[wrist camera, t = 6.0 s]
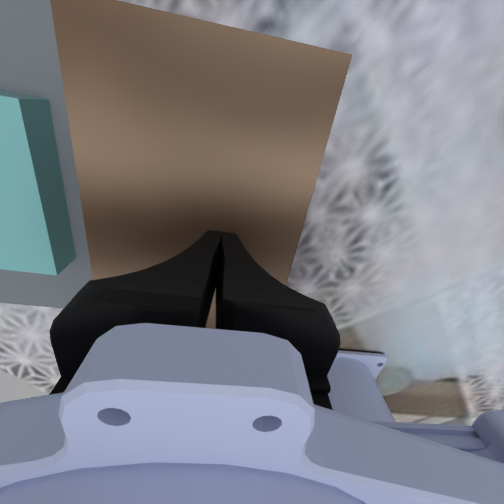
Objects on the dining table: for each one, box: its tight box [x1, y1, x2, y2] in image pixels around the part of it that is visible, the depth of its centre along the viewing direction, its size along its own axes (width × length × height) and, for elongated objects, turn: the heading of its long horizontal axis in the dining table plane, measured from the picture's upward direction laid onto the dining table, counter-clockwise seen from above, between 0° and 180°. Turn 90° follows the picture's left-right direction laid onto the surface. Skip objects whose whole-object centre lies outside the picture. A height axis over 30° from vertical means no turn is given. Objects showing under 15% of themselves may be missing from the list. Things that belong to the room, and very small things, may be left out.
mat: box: [0, 0, 93, 308], centre depth 15 cm, size 18×11×1 cm, turn 170°
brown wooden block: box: [50, 0, 352, 329], centre depth 14 cm, size 16×10×4 cm, turn 170°
